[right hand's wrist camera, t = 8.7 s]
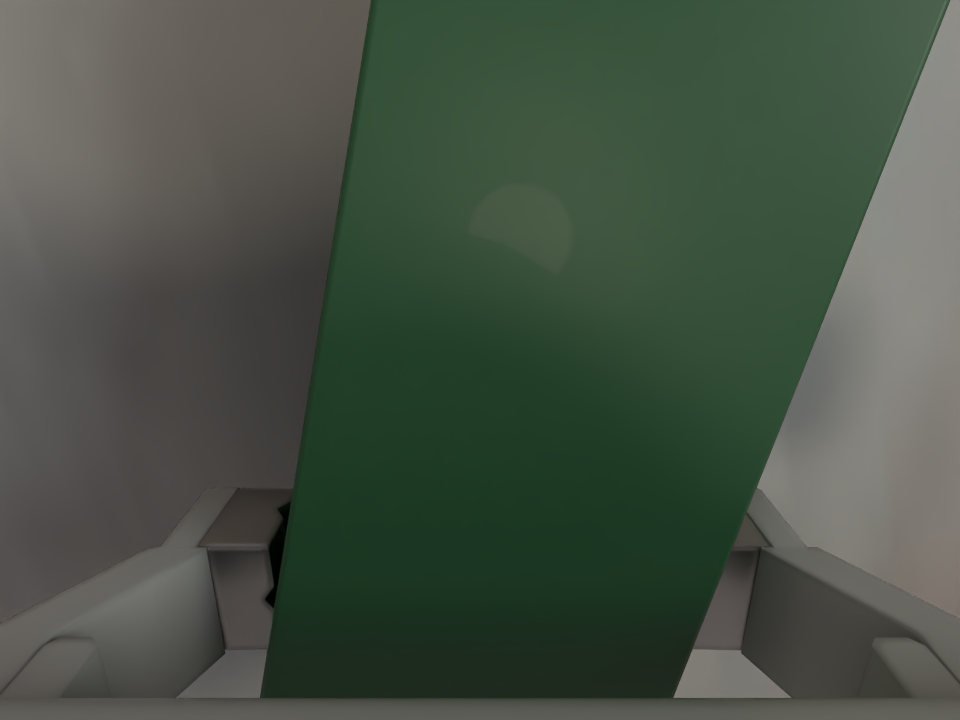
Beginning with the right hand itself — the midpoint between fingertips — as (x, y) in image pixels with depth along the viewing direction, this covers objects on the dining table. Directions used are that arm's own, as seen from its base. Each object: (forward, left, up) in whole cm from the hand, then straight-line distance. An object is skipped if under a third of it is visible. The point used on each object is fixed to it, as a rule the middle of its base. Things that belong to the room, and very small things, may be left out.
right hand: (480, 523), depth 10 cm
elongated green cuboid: (+3, +3, -5) cm, 7 cm away
